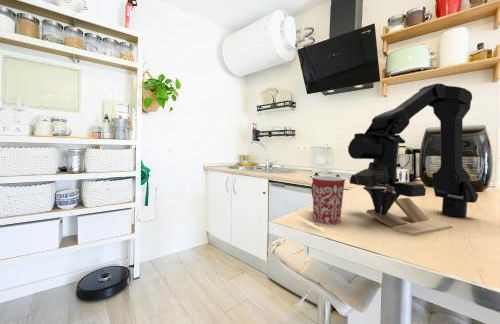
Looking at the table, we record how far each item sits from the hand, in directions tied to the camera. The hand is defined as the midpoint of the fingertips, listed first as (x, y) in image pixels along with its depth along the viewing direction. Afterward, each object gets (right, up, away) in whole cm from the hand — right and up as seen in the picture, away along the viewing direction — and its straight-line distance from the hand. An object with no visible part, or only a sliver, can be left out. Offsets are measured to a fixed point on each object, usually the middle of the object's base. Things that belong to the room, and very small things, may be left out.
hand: (380, 213), depth 62 cm
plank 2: (+10, 0, +2) cm, 10 cm away
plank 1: (+1, -1, 0) cm, 2 cm away
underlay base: (+6, -3, -1) cm, 7 cm away
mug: (-15, -3, +3) cm, 16 cm away
